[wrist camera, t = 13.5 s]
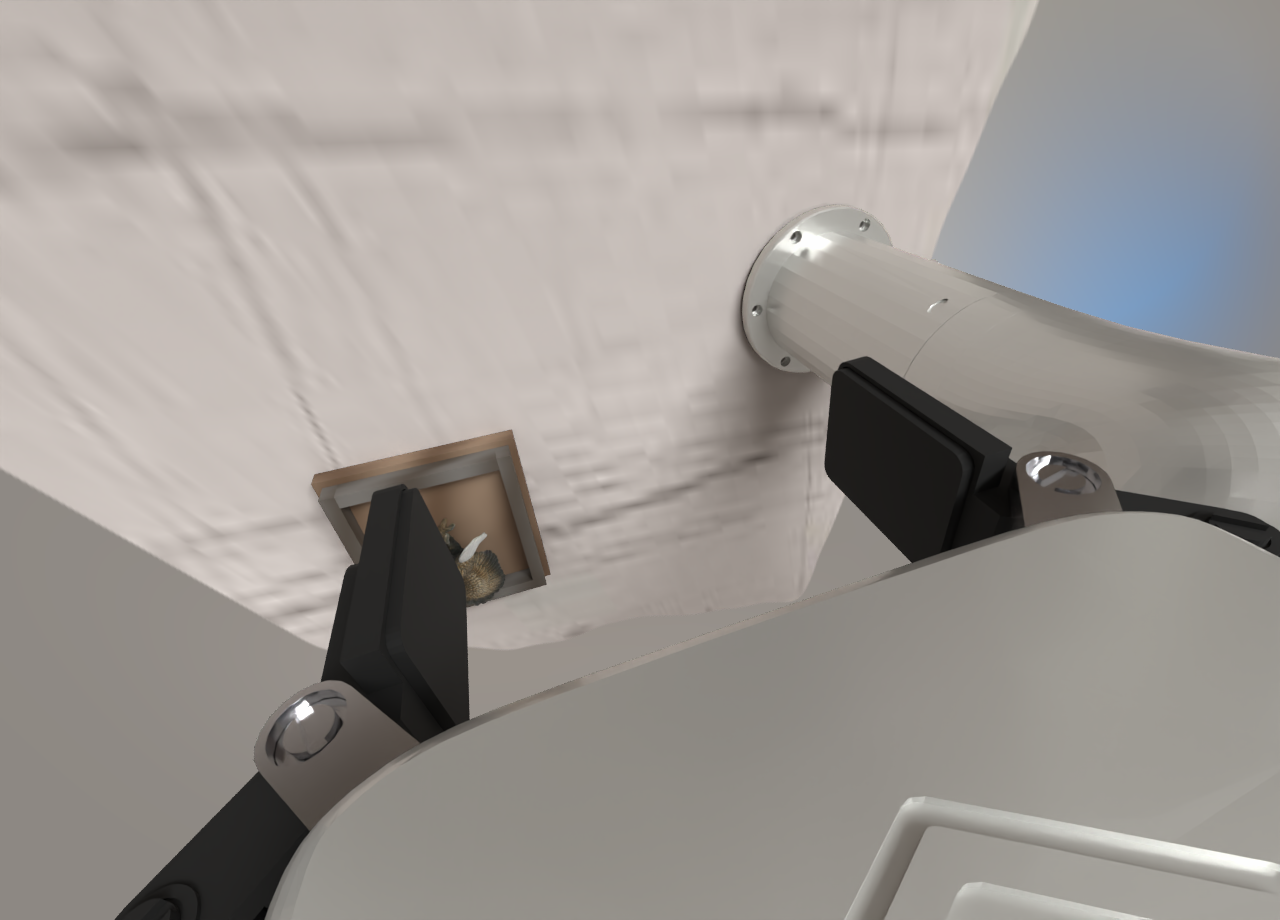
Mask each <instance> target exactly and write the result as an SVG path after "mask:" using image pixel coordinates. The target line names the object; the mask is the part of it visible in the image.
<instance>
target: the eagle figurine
mask: <svg viewBox="0 0 1280 920" xmlns="http://www.w3.org/2000/svg"><path fill="white" fill-rule="evenodd" d="M454 527H455V524H454V523H451V524H450V525H449V526H448V527H447V519H446V518H444V519H443V520H442V522H441V524H440V526H438V529H439V531H440V533H441V535H442V537H443V539H444V541H445V543H446V545H447V547H448V549H449V551H450V553H451V555H452V557H453V559H454V561H455V563H456V565H457V567H458V569H459V571H460V573H461V575H462V577H463V580H464V584H465V589H466V604H467V605H471V604H474V605H476V606H478V605H479V604H480V603H482V604H484V603H486V602H487V600H488V599H492V598H493V597H494V593H497V592H499V589H500V588H502V587H503V585H504V581H505V574H504V572H503V570H502V569H501V566H500V563H498V561H499V560H498V558H497V555H495V553H492V551H491V550H485V551H484V552H483V551H481V552H479V553H478V552H475V551H476V549H477V547H478V545H479V544H480V543H481V542H482V541H483V540H484V539H485V538H486V536H487V534H485V532H484V533H482V534H481V535H480V536H478V537H476V538H474V539H473V540H472V541H471V542H470V543H469V544H468V546H467V547H465V549H464V548H462V547H461V546H460V544H459V543H458V542H457V541H456V540H454V537H452V536H451V535H450V534H448V532H449V531H451V530H453V529H454Z"/></svg>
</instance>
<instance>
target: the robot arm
mask: <svg viewBox="0 0 1280 920" xmlns="http://www.w3.org/2000/svg"><path fill="white" fill-rule="evenodd" d="M791 235H792V236H791ZM742 317H743V326H744V330H745V333H746V336H747V339H748V341H749V343H750V344H751V346H752V348H753V349H754V351H755V352H756V353H757V354H758V355H759V356H760V357H761V358H762V359H763V360H765V361H766V362H767V363H769V364H770V365H771V366H773V367H775V368H777V369H779V370H782V371H787V372H792V373H803V372H811V371H812V372H814V373H815V374H816V375H818V376H819V377H820V378H821V379H823V380H824V381H825V382H827V383H828V384H829V385H831V397H830V408H829V419H828V430H827V441H826V452H825V470H826V473H827V475H828V477H829V478H830V479H831V481H832V482H833V483H834V484H835V485H836V486H837V487H838V488H839V489H840V490H841V491H842V492H843V493H844V494H845V495H846V496H847V497H848V498H849V499H850V500H851V501H852V502H853V503H854V504H855V505H856V506H857V507H858V508H859V509H860V510H861V511H862V512H863V513H864V514H865V515H866V516H867V517H868V518H869V519H870V520H871V522H872V523H874V524H875V526H876V527H877V528H878V529H879V530H880V531H881V532H882V533H883V534H884V535H885V536H886V537H887V538H888V539H889V540H890V541H891V542H892V543H893V544H894V545H895V546H896V547H897V548H898V549H899V550H900V551H901V552H902V553H903V554H904V555H905V556H906V557H907V558H908V559H909V560H910V561H911V562H912V563H911V564H908V565H905V566H902V567H899V568H896V569H893V570H890V571H887V572H884V573H881V574H879V575H875V576H872V577H869V578H866V579H863V580H861V581H858V582H855V583H852V584H849V585H846V586H843V587H840V588H837V589H834V590H831V591H828V592H826V593H822V594H820V595H817V596H814V597H811V598H808V599H805V600H802V601H799V602H796V603H793V604H790V605H788V606H785V607H782V608H779V609H776V610H773V611H770V612H767V613H765V614H761V615H759V616H756V617H753V618H750V619H747V620H745V621H741V622H738V623H736V624H733V625H730V626H727V627H724V628H721V629H718V630H715V631H712V632H709V633H706V634H704V635H701V636H698V637H695V638H692V639H690V640H687V641H684V642H681V643H678V644H675V645H672V646H670V647H667V648H664V649H661V650H658V651H655V652H652V653H650V654H647V655H644V656H641V657H638V658H635V659H632V660H629V661H627V662H624V663H621V664H618V665H615V666H612V667H610V668H607V669H604V670H601V671H598V672H596V673H592V674H590V675H587V676H584V677H581V678H579V679H576V680H573V681H570V682H567V683H565V684H562V685H560V686H557V687H554V688H551V689H548V690H546V691H543V692H540V693H538V694H535V695H533V696H530V697H527V698H524V699H521V700H519V701H516V702H513V703H511V704H508V705H505V706H502V707H500V708H498V709H495V710H492V711H490V712H488V713H485V714H483V715H480V716H478V717H476V718H473V719H471V720H470V719H469V687H468V686H469V684H468V653H467V652H468V650H467V615H466V589H465V584H464V580H463V577H462V575H461V573H460V571H459V569H458V567H457V565H456V563H455V561H454V559H453V557H452V555H451V553H450V551H449V549H448V547H447V545H446V543H445V541H444V539H443V537H442V535H441V533H440V531H439V529H438V527H437V525H436V523H435V521H434V519H433V517H432V515H431V513H430V511H429V509H428V507H427V505H426V504H425V502H424V500H423V498H422V496H421V494H420V492H419V490H418V489H417V488H412V489H408V488H407V486H406V485H405V484H399V485H396V486H392V487H388V488H385V489H381V490H378V491H375V492H373V495H372V499H371V504H370V509H369V514H368V519H367V524H366V529H365V534H364V539H363V545H362V550H361V555H360V560H359V563H358V564H354V565H351V566H349V567H348V568H347V570H346V572H345V575H344V579H343V584H342V588H341V593H340V597H339V602H338V606H337V611H336V615H335V620H334V624H333V629H332V633H331V638H330V643H329V647H328V652H327V656H326V661H325V665H324V670H323V675H322V679H321V682H320V683H316V684H313V685H311V686H309V687H307V688H305V689H303V690H301V691H299V692H297V693H296V694H294V695H293V696H292V697H290V698H289V699H288V700H286V701H285V702H284V703H283V704H282V705H281V706H280V707H279V708H278V709H277V710H276V711H275V712H274V713H273V714H272V715H271V716H270V717H269V719H268V720H267V722H266V723H265V725H264V726H263V728H262V729H261V731H260V733H259V736H258V739H257V741H256V744H255V747H254V762H255V764H256V767H257V769H258V773H256V774H255V776H254V777H253V778H252V779H251V780H250V781H249V782H248V783H247V784H246V785H245V786H244V787H243V788H242V789H241V790H240V791H239V792H238V793H237V794H236V795H235V796H234V797H233V798H232V799H231V800H230V801H229V802H228V803H227V804H226V805H225V806H224V807H223V808H222V809H221V810H220V811H219V812H218V813H217V814H216V815H215V816H214V817H213V818H212V819H211V820H210V822H208V823H207V825H205V827H204V828H202V830H201V831H200V832H199V833H198V834H197V835H196V836H195V837H194V838H193V839H192V840H191V841H190V842H189V843H188V844H187V845H186V846H185V847H184V848H183V849H182V850H181V851H180V852H179V853H178V854H177V855H176V856H175V857H174V858H173V859H172V860H171V861H170V862H169V863H168V864H167V865H166V866H165V867H164V868H163V869H162V870H161V871H160V872H159V873H158V874H157V875H156V876H155V877H154V878H153V880H152V881H150V883H149V884H148V885H147V886H146V887H145V888H144V889H143V890H142V891H141V892H140V893H139V894H138V895H137V896H136V897H135V898H134V899H133V900H132V901H131V902H130V903H129V904H128V905H127V906H126V907H125V908H124V909H123V911H122V912H121V913H120V914H119V915H118V916H117V917H116V919H115V920H1280V359H1279V358H1273V357H1269V356H1263V355H1259V354H1253V353H1248V352H1243V351H1238V350H1232V349H1228V348H1222V347H1217V346H1212V345H1207V344H1202V343H1197V342H1192V341H1186V340H1183V339H1178V338H1174V337H1170V336H1166V335H1161V334H1157V333H1153V332H1149V331H1145V330H1140V329H1136V328H1132V327H1128V326H1124V325H1121V324H1118V323H1114V322H1111V321H1108V320H1104V319H1101V318H1098V317H1095V316H1091V315H1088V314H1085V313H1081V312H1078V311H1075V310H1072V309H1069V308H1065V307H1062V306H1060V305H1057V304H1054V303H1051V302H1048V301H1045V300H1042V299H1039V298H1036V297H1034V296H1031V295H1028V294H1025V293H1022V292H1019V291H1016V290H1013V289H1011V288H1007V287H1005V286H1002V285H999V284H996V283H994V282H991V281H988V280H985V279H982V278H979V277H976V276H974V275H971V274H968V273H965V272H962V271H959V270H957V269H954V268H951V267H947V266H945V265H942V264H940V263H938V261H936V260H935V259H931V260H928V259H925V258H923V257H920V256H917V255H914V254H911V253H908V252H905V251H903V250H900V249H897V248H894V247H893V245H892V242H891V239H890V236H889V234H888V232H887V231H886V229H885V228H884V226H883V224H882V223H881V222H879V221H878V220H877V219H876V218H875V217H874V216H873V215H871V214H869V213H867V212H865V211H863V210H861V209H858V208H854V207H851V206H844V205H830V206H824V207H818V208H816V209H813V210H811V211H808V212H806V213H803V214H802V215H800V216H799V217H797V218H795V219H794V220H792V221H790V222H789V223H788V224H787V225H785V226H784V227H783V228H782V229H781V230H780V231H779V232H778V233H776V234H775V235H774V237H773V238H772V239H771V240H770V241H769V243H768V244H767V245H766V246H765V247H764V249H763V250H762V252H761V254H760V255H759V257H758V259H757V260H756V262H755V263H754V266H753V268H752V270H751V273H750V275H749V277H748V280H747V283H746V287H745V291H744V296H743V306H742Z"/></svg>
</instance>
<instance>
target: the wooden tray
mask: <svg viewBox="0 0 1280 920" xmlns="http://www.w3.org/2000/svg"><path fill="white" fill-rule="evenodd" d="M399 484H405V485H406V486H407V488H408V489H412V488H417V489H418V490H419V492H420V494H421V496H422V498H423V500H424V502H425V504H426V505H427V507H428V509H429V511H430V513H431V515H432V517H433V519H434V521H435V523H436V525H437V527H438V526H440V524H441V522H442V520H443V519H444V518H446V519H447V527H448V526H449V525H450V524H451V523H454V524H455V527H454V529H453V530H451V531H449V532H448V534H450V535H451V536H452V537H454V540H456V541H457V542H458V543H459V544H460V546H461V547H462V548H464V549H465V547H467V546H468V544H469V543H470V542H471V541H472V540H473V539H474V538H476V537H478V536H480V535H481V534H482V533H484V532H485V534H487V536H486V538H485V539H484V540H483V541H482V542H481V543H480V544H479V545H478V547H477V549H476V551H475V552H478V553H479V552H481V551H483V552H484V551H485V550H491V551H492V553H495V555H497V558H498V560H499V561H498V563H500V566H501V569H502V570H503V572H504V574H505V581H504V585H503V587H502V588H500V589H499V592H497V593H494V597H493V598H492V599H488V600H487V601H491V600H494V599H498V598H501V597H505V596H508V595H512V594H515V593H519V592H522V591H526V590H529V589H533V588H536V587H540V586H543V585H547V584H546V580H545V576H547V575H550V570H549V566H548V562H547V558H546V555H545V551H544V547H543V543H542V540H541V536H540V532H539V529H538V525H537V521H536V518H535V514H534V510H533V506H532V503H531V499H530V495H529V492H528V488H527V484H526V480H525V477H524V473H523V469H522V466H521V462H520V458H519V455H518V451H517V447H516V443H515V440H514V436H513V432H512V430H508V431H504V432H499V433H495V434H491V435H486V436H482V437H477V438H473V439H469V440H464V441H460V442H455V443H451V444H447V445H442V446H438V447H433V448H429V449H425V450H420V451H416V452H412V453H407V454H403V455H398V456H394V457H390V458H385V459H381V460H376V461H372V462H368V463H363V464H359V465H354V466H350V467H346V468H341V469H337V470H332V471H328V472H324V473H319V474H315V475H314V478H313V481H312V484H311V485H312V487H313V488H314V490H315V492H316V494H317V495H318V497H319V500H318V502H319V503H320V505H321V507H322V509H323V510H324V512H325V514H326V516H327V517H328V519H329V521H330V522H331V524H332V526H333V528H334V529H335V531H336V533H337V534H338V536H339V538H340V540H341V541H342V543H343V545H344V546H345V548H346V550H347V552H348V553H349V555H350V557H351V558H352V560H353V562H354V564H358V563H359V560H360V555H361V550H362V545H363V539H364V534H365V529H366V524H367V519H368V514H369V509H370V504H371V499H372V495H373V492H375V491H378V490H381V489H385V488H388V487H392V486H396V485H399ZM473 605H474V604H471V605H467V604H466V607H470V606H473Z"/></svg>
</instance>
